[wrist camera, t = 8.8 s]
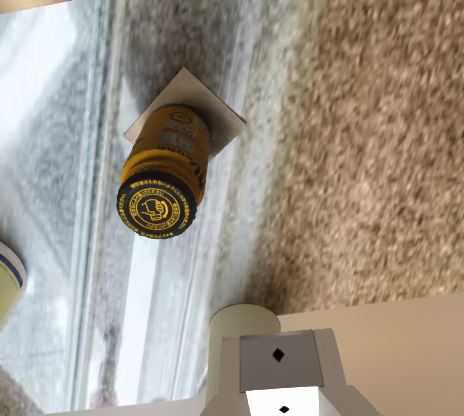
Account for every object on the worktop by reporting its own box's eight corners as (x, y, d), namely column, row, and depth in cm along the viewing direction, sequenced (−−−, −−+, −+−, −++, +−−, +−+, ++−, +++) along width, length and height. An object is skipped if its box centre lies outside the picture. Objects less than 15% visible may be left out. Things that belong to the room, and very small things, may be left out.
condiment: (123, 135, 35) (81, 211, 25) (184, 65, 32) (162, 122, 22) (185, 183, 38) (169, 268, 28) (247, 124, 35) (253, 197, 25)
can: (220, 355, 54) (218, 449, 44) (198, 311, 49) (190, 406, 39) (287, 343, 52) (299, 437, 42) (271, 296, 47) (281, 391, 37)
